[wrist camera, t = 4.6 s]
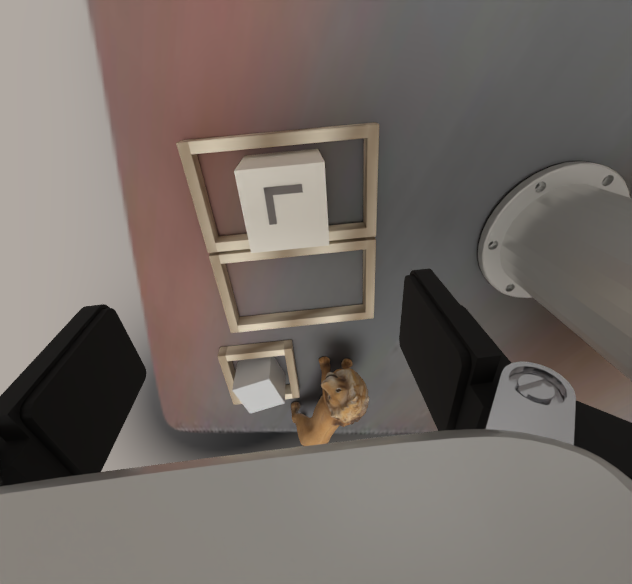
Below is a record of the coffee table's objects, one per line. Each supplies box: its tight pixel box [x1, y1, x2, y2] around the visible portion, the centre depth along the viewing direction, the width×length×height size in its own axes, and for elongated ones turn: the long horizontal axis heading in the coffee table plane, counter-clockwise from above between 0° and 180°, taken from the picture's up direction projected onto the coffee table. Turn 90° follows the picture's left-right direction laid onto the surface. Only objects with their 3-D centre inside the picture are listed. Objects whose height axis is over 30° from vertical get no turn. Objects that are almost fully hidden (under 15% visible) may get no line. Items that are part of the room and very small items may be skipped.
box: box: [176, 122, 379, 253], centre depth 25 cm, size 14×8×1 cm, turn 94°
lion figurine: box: [291, 356, 369, 446], centre depth 33 cm, size 15×5×9 cm, turn 163°
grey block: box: [232, 356, 285, 413], centre depth 34 cm, size 4×4×4 cm
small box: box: [218, 340, 300, 405], centre depth 35 cm, size 8×8×1 cm
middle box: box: [209, 236, 376, 333], centre depth 29 cm, size 14×8×1 cm, turn 94°
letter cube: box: [234, 149, 329, 253], centre depth 23 cm, size 6×6×6 cm
